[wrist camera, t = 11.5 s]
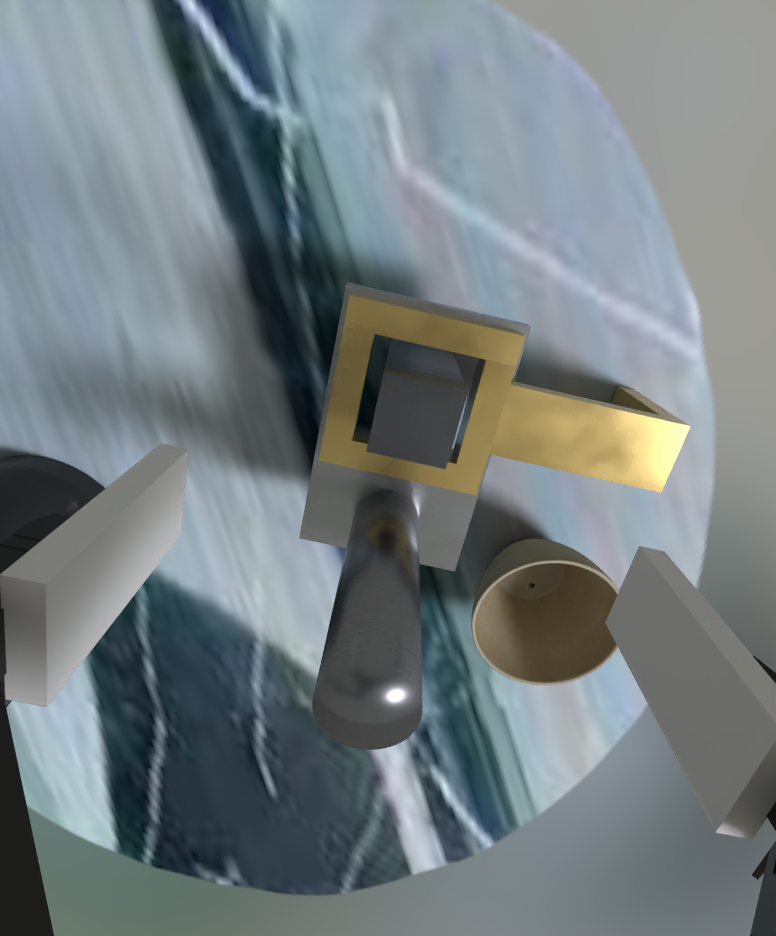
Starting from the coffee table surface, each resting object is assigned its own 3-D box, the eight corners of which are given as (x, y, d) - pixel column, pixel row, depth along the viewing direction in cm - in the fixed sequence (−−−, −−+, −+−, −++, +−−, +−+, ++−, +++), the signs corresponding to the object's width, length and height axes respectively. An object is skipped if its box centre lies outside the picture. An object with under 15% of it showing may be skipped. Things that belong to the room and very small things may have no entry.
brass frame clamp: (315, 504, 42) (221, 750, 21) (358, 276, 36) (284, 319, 15) (567, 559, 43) (708, 847, 22) (652, 345, 37) (952, 473, 16)
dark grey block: (392, 334, 37) (383, 372, 26) (451, 347, 37) (467, 391, 26) (379, 391, 39) (366, 451, 27) (436, 404, 39) (445, 469, 28)
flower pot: (478, 499, 41) (491, 548, 35) (611, 521, 41) (649, 574, 35) (451, 610, 45) (457, 674, 38) (573, 630, 45) (600, 697, 38)
